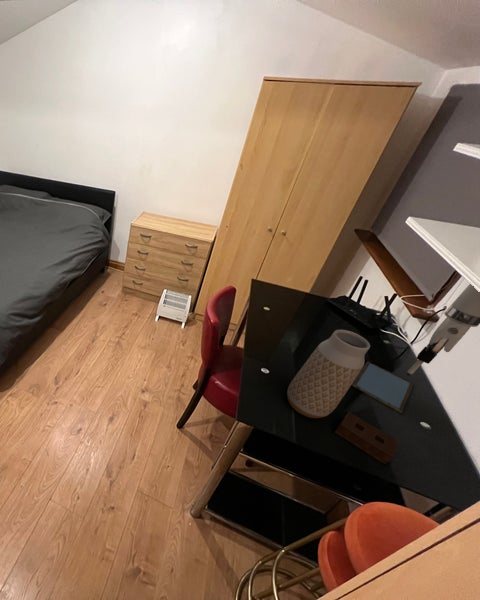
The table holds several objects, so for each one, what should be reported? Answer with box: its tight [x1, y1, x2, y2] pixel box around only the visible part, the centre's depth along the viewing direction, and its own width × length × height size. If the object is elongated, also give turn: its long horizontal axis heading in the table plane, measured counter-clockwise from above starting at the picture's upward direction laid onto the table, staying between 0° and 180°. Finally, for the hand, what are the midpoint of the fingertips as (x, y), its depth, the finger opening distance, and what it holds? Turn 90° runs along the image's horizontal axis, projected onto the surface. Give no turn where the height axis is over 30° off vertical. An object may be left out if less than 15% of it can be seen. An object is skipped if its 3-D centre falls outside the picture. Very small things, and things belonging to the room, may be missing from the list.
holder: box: [334, 411, 400, 465], centre depth 101 cm, size 13×8×4 cm, turn 40°
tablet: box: [351, 361, 414, 414], centre depth 123 cm, size 22×15×1 cm
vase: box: [286, 329, 371, 419], centre depth 103 cm, size 14×14×31 cm
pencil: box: [406, 346, 433, 376], centre depth 107 cm, size 1×1×13 cm
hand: (423, 359), depth 107 cm, fingers closed on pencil, 1 cm apart
